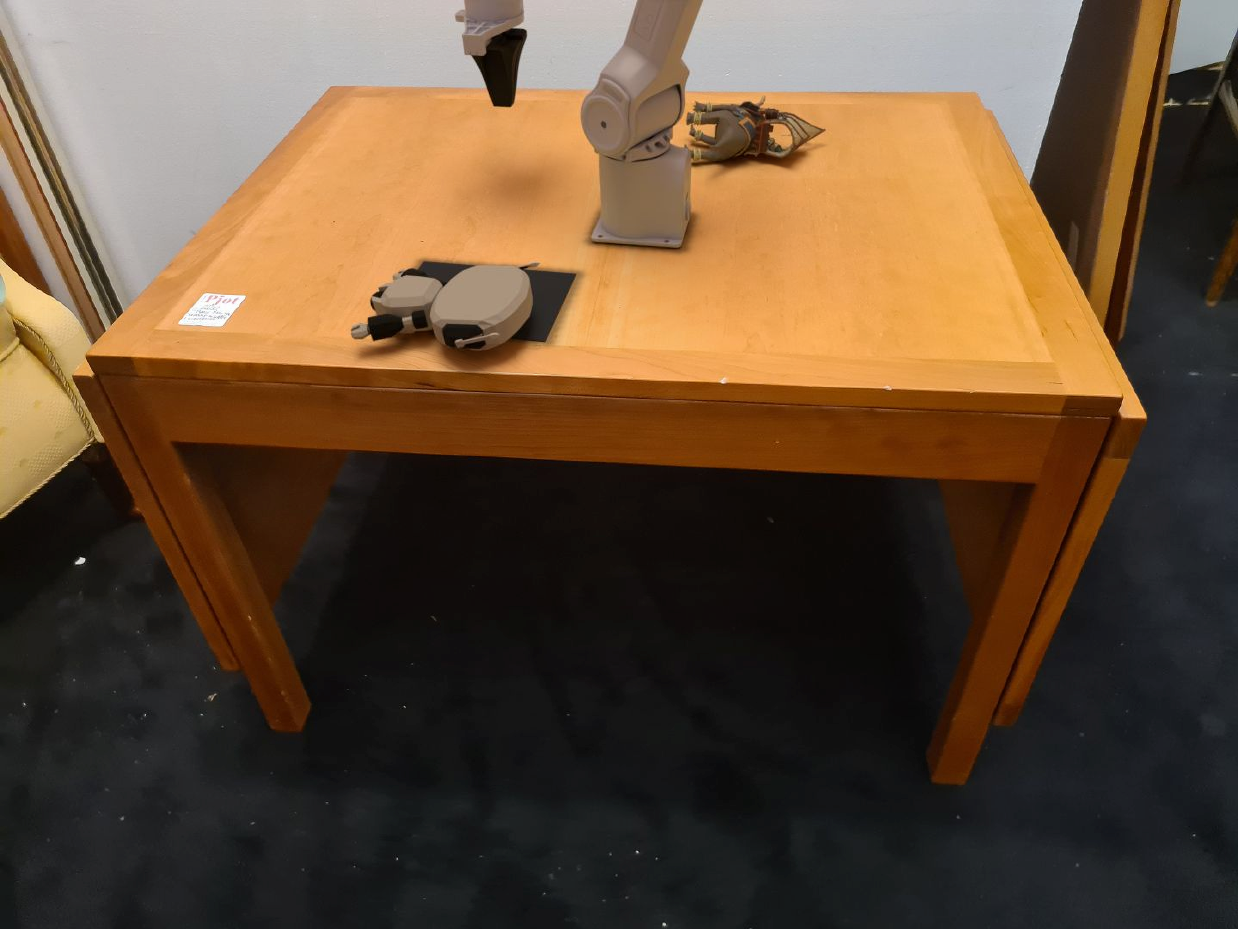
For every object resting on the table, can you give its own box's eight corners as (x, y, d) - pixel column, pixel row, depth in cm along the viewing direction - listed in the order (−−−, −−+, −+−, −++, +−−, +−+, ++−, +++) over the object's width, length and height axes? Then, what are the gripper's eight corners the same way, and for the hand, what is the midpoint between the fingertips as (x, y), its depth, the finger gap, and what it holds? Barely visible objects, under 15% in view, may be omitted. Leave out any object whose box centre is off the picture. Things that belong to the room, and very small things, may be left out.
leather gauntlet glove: (696, 77, 112) (828, 83, 110) (693, 125, 116) (821, 132, 114) (680, 126, 97) (833, 134, 95) (677, 179, 101) (825, 188, 99)
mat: (576, 274, 86) (576, 273, 86) (545, 341, 77) (545, 340, 77) (423, 261, 89) (423, 260, 89) (377, 325, 80) (377, 324, 80)
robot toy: (351, 366, 76) (512, 374, 73) (335, 322, 73) (502, 328, 70) (405, 294, 85) (551, 298, 82) (393, 252, 82) (543, 254, 79)
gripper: (473, -53, 92) (488, 80, 101) (424, -18, 81) (446, 127, 91) (537, -52, 91) (547, 83, 100) (496, -16, 80) (511, 131, 89)
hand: (503, 104), depth 95 cm, fingers closed
